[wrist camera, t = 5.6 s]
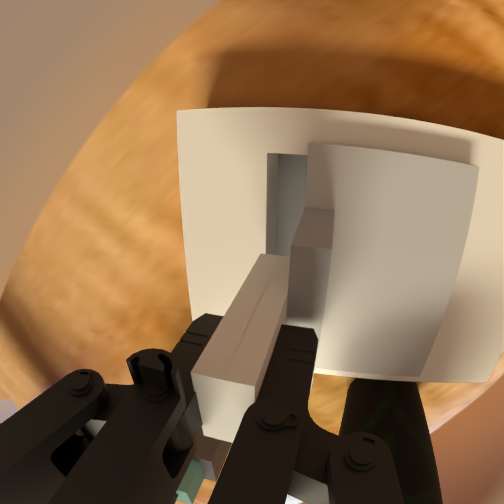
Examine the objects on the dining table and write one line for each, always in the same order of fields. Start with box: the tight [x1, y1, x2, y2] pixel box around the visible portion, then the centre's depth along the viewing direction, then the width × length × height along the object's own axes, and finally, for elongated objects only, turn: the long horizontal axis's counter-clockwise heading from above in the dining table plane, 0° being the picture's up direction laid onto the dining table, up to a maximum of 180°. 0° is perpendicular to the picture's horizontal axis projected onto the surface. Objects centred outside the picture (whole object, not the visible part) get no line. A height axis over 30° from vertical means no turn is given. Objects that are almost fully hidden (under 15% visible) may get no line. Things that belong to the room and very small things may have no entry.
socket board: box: [177, 107, 504, 383], centre depth 16 cm, size 19×14×4 cm
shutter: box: [286, 142, 479, 391], centre depth 12 cm, size 7×11×5 cm, turn 0°
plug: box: [170, 426, 232, 504], centre depth 21 cm, size 5×4×12 cm
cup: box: [339, 378, 443, 504], centre depth 16 cm, size 8×8×12 cm
